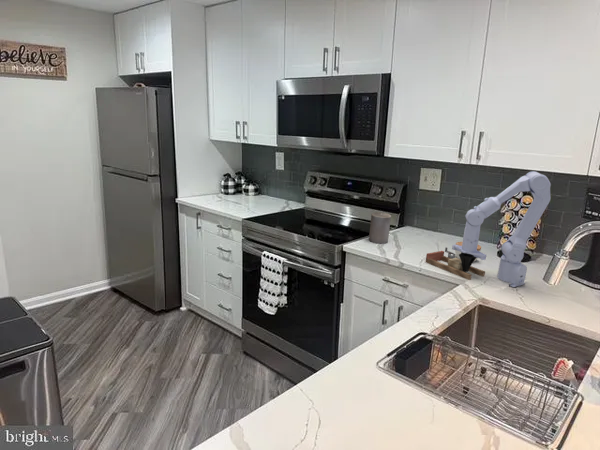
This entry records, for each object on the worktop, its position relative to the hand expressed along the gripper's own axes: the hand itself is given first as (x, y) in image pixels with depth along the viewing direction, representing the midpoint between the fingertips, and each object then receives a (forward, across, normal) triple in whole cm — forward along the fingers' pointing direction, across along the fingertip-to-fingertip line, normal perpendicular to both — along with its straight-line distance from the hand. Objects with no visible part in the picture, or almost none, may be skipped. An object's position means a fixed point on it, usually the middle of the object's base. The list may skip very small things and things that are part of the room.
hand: (465, 271), depth 175 cm
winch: (+2, -15, +8) cm, 17 cm away
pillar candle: (+2, -52, 0) cm, 52 cm away
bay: (+2, -6, 0) cm, 6 cm away
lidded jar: (+2, -12, +16) cm, 20 cm away
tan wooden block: (+1, -4, 0) cm, 5 cm away
